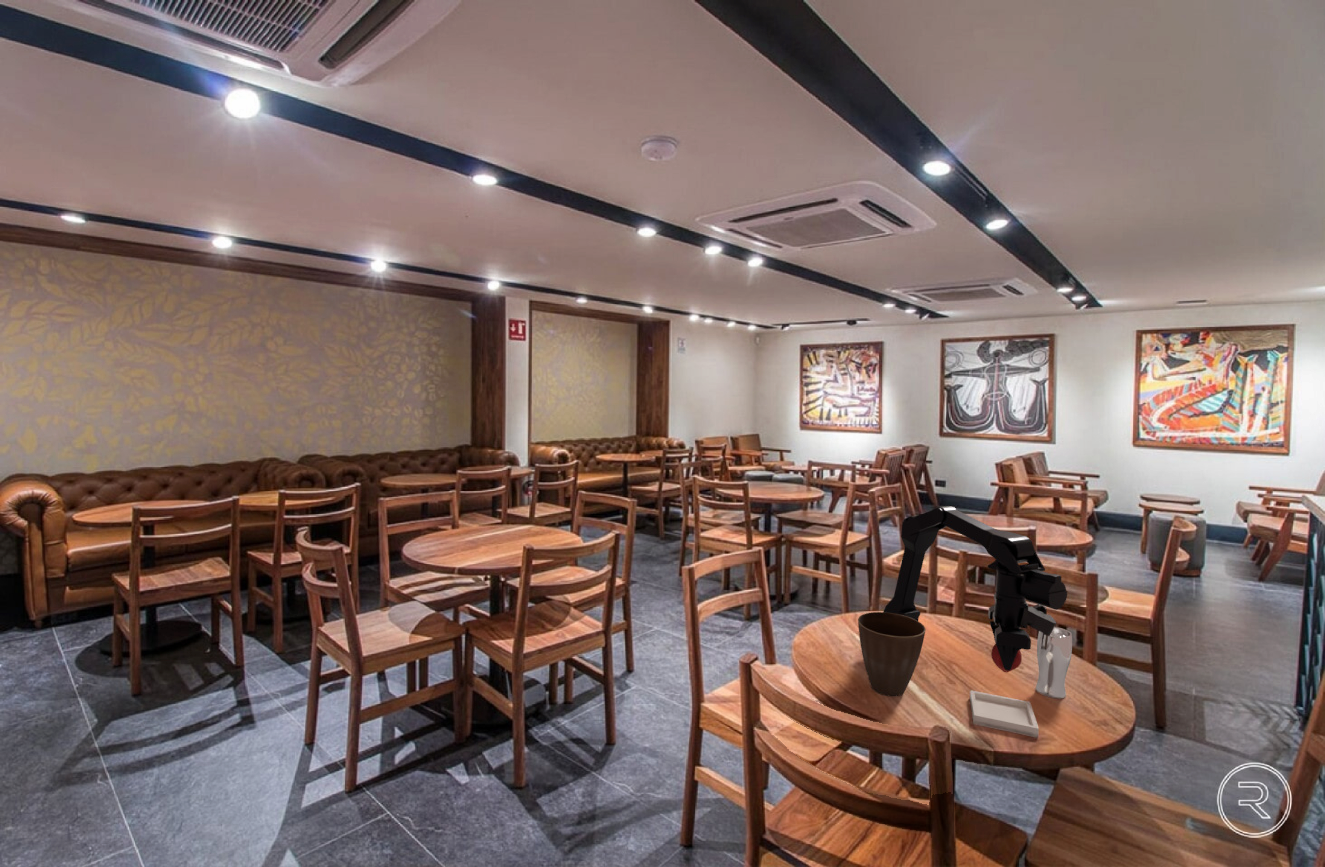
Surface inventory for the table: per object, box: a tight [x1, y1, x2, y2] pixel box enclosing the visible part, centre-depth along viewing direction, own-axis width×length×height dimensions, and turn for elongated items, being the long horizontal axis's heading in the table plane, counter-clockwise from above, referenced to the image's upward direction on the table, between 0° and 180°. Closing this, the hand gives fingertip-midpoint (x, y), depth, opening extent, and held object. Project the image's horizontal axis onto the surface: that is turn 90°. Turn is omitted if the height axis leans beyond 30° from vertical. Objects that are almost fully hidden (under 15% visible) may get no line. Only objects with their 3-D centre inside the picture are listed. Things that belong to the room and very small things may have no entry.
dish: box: [969, 689, 1040, 739], centre depth 137 cm, size 12×12×2 cm
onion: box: [990, 643, 1023, 673], centre depth 136 cm, size 6×6×8 cm
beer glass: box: [1035, 626, 1073, 700], centre depth 148 cm, size 7×7×15 cm
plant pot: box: [857, 611, 926, 697], centre depth 147 cm, size 15×15×16 cm
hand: (1005, 664), depth 136 cm, fingers closed on onion, 6 cm apart
